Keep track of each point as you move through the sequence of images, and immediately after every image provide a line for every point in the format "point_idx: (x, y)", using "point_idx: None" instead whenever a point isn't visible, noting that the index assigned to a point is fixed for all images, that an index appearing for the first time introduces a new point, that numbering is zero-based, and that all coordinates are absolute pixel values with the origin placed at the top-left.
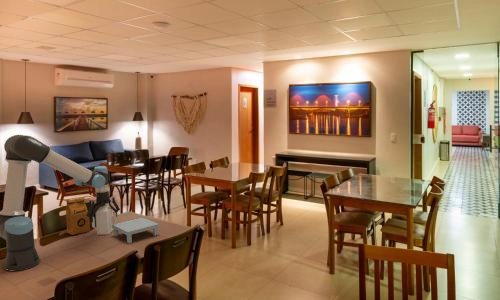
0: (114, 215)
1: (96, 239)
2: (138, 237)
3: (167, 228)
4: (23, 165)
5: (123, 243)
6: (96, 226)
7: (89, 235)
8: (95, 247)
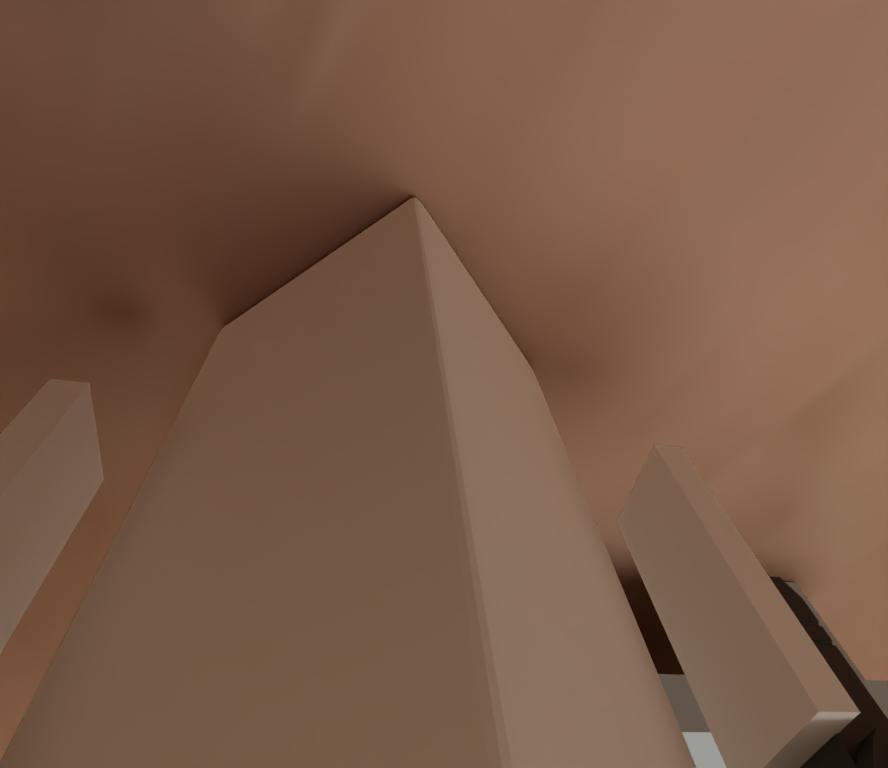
0: (702, 668)
1: (123, 505)
2: None
3: None
4: None
5: None
6: (169, 437)
7: (83, 226)
8: (15, 693)
